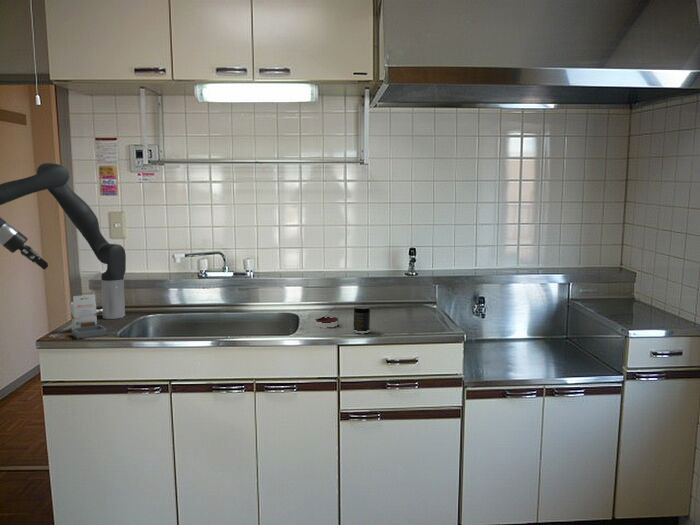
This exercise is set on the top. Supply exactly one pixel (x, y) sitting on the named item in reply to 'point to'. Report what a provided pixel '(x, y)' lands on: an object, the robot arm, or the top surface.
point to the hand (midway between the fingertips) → (46, 266)
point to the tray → (89, 331)
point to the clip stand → (87, 324)
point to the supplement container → (361, 318)
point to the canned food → (326, 320)
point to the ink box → (83, 310)
